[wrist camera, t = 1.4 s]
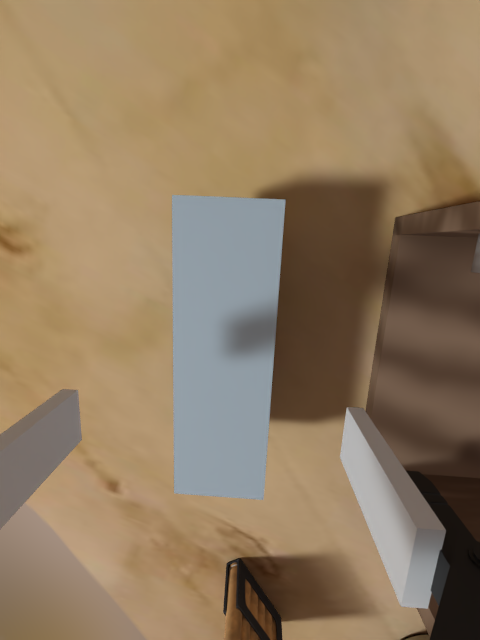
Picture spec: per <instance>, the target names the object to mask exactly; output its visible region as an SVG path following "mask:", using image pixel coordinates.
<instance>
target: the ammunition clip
mask: <svg viewBox="0 0 480 640" xmlns="http://www.w3.org/2000/svg"><path fill="white" fill-rule="evenodd" d="M223 612H224V614H225V616H226V623H225V637H224V640H282V625H281V617H280V615H279V614H278V612H277V611H276V609H275V608H274V607H273V605H272V604H271V602H270V601H269V599H268V598H267V596H266V595H265V593H264V592H263V591H262V589H261V588H260V586H259V585H258V583H257V582H256V580H255V579H254V577H253V576H252V575H251V573H250V572H249V570H248V569H247V567H246V566H245V564H244V563H243V561H242V560H241V559H237V560H234V561H232V562H229V563H227V567H226V581H225V596H224V610H223Z"/></svg>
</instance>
